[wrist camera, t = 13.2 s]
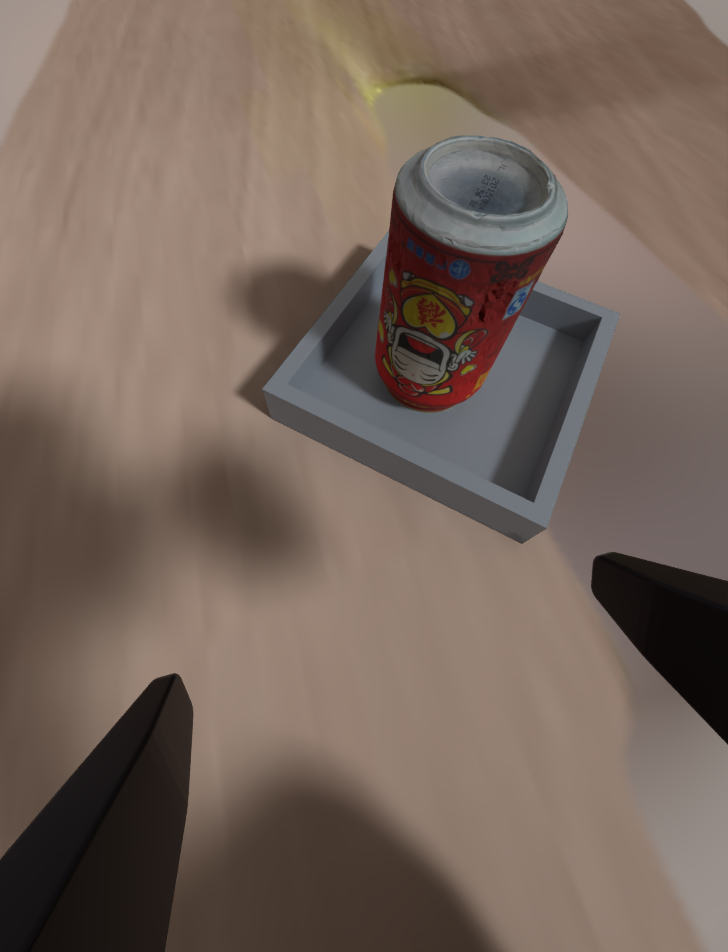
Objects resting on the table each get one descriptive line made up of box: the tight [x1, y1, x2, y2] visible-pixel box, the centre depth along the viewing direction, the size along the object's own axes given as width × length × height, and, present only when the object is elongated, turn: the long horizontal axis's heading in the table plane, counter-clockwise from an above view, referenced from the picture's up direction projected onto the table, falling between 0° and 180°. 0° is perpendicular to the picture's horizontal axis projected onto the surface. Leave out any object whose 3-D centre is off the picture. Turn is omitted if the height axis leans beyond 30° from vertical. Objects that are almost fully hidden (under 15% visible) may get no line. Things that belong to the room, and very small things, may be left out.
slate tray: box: [262, 231, 620, 543], centre depth 26 cm, size 17×17×3 cm
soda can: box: [375, 136, 568, 413], centre depth 21 cm, size 7×7×12 cm
